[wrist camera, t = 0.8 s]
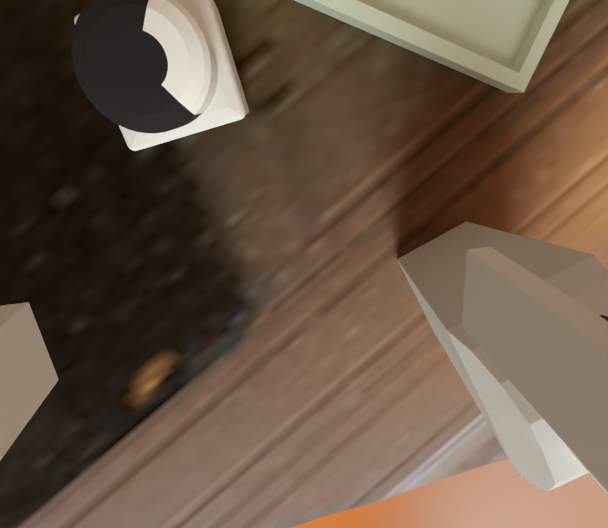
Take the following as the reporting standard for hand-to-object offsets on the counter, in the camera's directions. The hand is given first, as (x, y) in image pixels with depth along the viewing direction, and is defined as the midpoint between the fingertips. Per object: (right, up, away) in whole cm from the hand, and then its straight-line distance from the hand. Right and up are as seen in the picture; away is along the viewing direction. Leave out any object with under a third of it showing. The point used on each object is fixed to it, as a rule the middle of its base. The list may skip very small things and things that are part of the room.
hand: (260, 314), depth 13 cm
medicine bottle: (-7, +15, +16) cm, 23 cm away
